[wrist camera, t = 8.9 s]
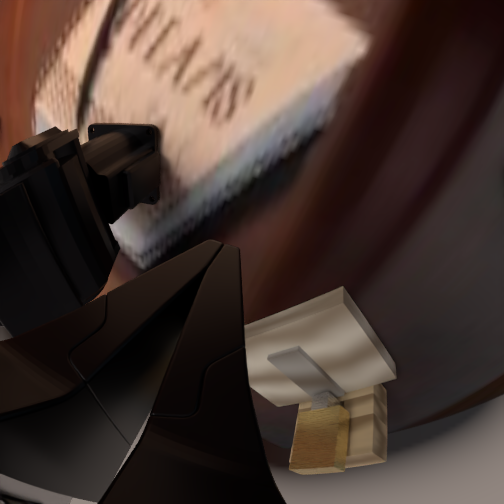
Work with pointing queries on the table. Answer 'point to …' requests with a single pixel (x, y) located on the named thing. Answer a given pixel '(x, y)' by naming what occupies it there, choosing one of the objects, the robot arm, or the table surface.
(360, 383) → the door and jamb
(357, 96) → the table surface
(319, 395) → the bolt
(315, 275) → the table surface
